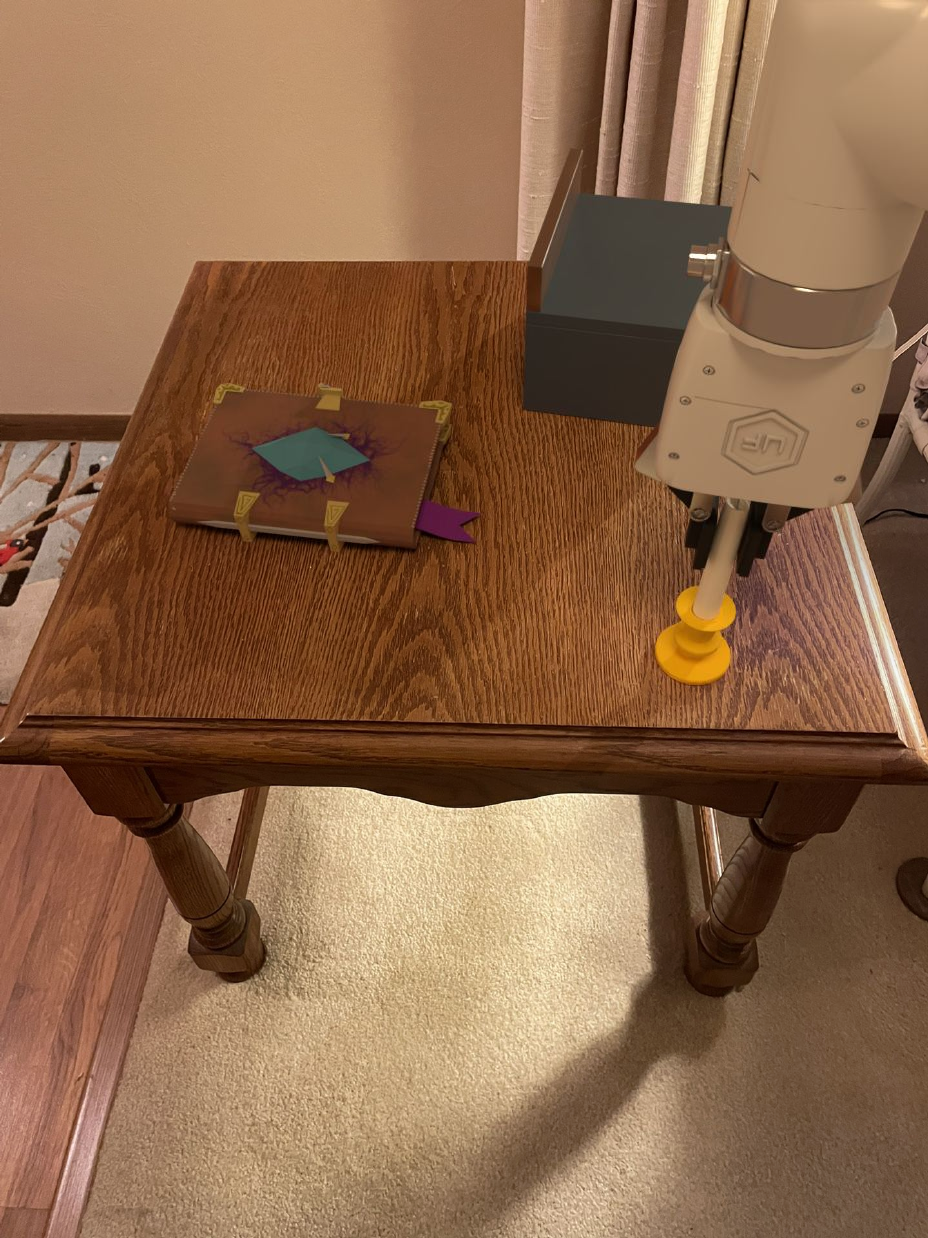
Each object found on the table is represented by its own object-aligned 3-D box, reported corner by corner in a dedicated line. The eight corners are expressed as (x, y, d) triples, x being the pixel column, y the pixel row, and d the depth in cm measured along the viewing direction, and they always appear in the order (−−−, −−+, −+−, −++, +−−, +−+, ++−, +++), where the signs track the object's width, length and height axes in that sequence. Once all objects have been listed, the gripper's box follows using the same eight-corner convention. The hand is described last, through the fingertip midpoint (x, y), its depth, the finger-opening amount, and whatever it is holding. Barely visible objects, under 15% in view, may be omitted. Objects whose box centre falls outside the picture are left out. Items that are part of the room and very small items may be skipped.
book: (472, 573, 69) (470, 531, 65) (172, 539, 72) (152, 497, 68) (502, 428, 78) (502, 383, 74) (236, 403, 81) (221, 359, 77)
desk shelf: (719, 304, 89) (750, 162, 78) (703, 433, 77) (738, 287, 66) (561, 287, 91) (570, 147, 80) (522, 409, 80) (527, 265, 69)
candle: (720, 624, 64) (773, 462, 52) (736, 684, 61) (797, 526, 49) (648, 627, 64) (685, 466, 52) (661, 687, 61) (702, 530, 49)
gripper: (615, 309, 39) (583, 581, 53) (1002, 353, 36) (858, 626, 51) (636, 223, 43) (601, 495, 58) (982, 256, 41) (854, 533, 55)
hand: (721, 555), depth 54 cm, fingers closed
